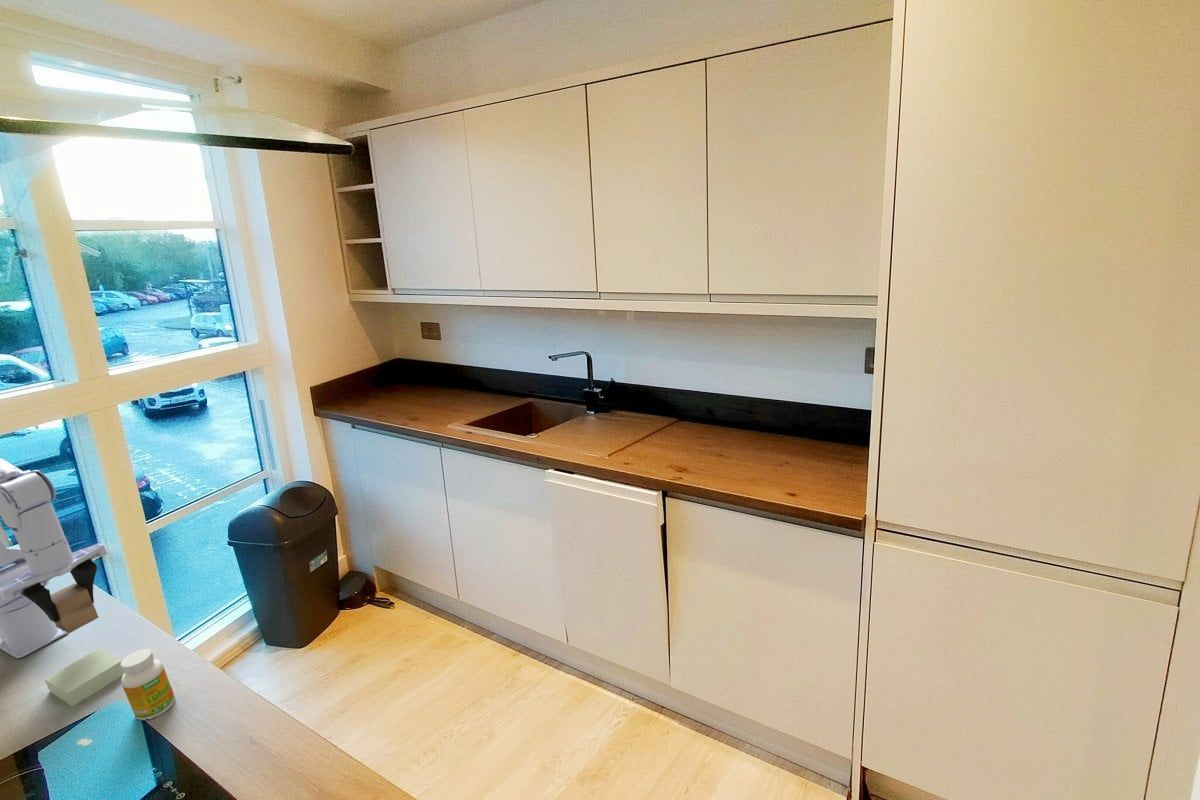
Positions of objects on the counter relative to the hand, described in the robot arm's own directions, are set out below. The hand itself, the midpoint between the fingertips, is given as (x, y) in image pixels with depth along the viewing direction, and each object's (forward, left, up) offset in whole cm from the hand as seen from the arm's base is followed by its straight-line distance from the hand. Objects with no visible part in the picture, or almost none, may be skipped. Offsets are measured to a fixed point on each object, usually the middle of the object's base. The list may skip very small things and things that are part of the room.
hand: (72, 611), depth 109 cm
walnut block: (0, 0, -2) cm, 2 cm away
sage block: (+7, -4, -10) cm, 13 cm away
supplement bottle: (+25, -2, -10) cm, 27 cm away
